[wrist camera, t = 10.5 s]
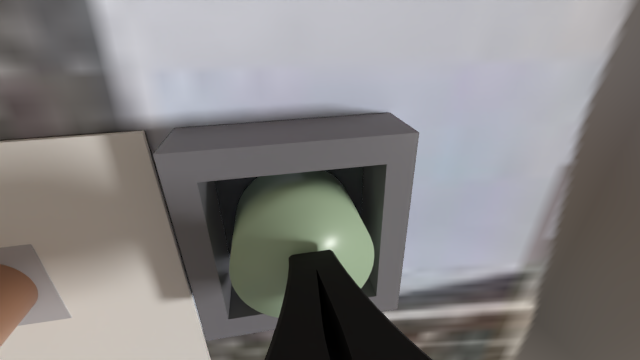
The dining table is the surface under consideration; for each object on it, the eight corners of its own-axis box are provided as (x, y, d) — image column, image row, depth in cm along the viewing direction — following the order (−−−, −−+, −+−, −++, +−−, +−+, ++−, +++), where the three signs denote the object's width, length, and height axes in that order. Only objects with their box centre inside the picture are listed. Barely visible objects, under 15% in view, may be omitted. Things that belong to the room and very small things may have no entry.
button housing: (377, 269, 16) (397, 309, 14) (214, 293, 15) (206, 340, 12) (390, 112, 12) (418, 132, 10) (174, 128, 11) (152, 154, 9)
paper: (215, 374, 17) (214, 379, 17) (-34, 419, 16) (-38, 425, 15) (143, 130, 11) (141, 132, 11) (-291, 161, 9) (-304, 165, 9)
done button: (350, 255, 14) (370, 307, 12) (244, 269, 14) (240, 328, 11) (352, 159, 12) (378, 196, 10) (226, 170, 12) (216, 214, 9)
